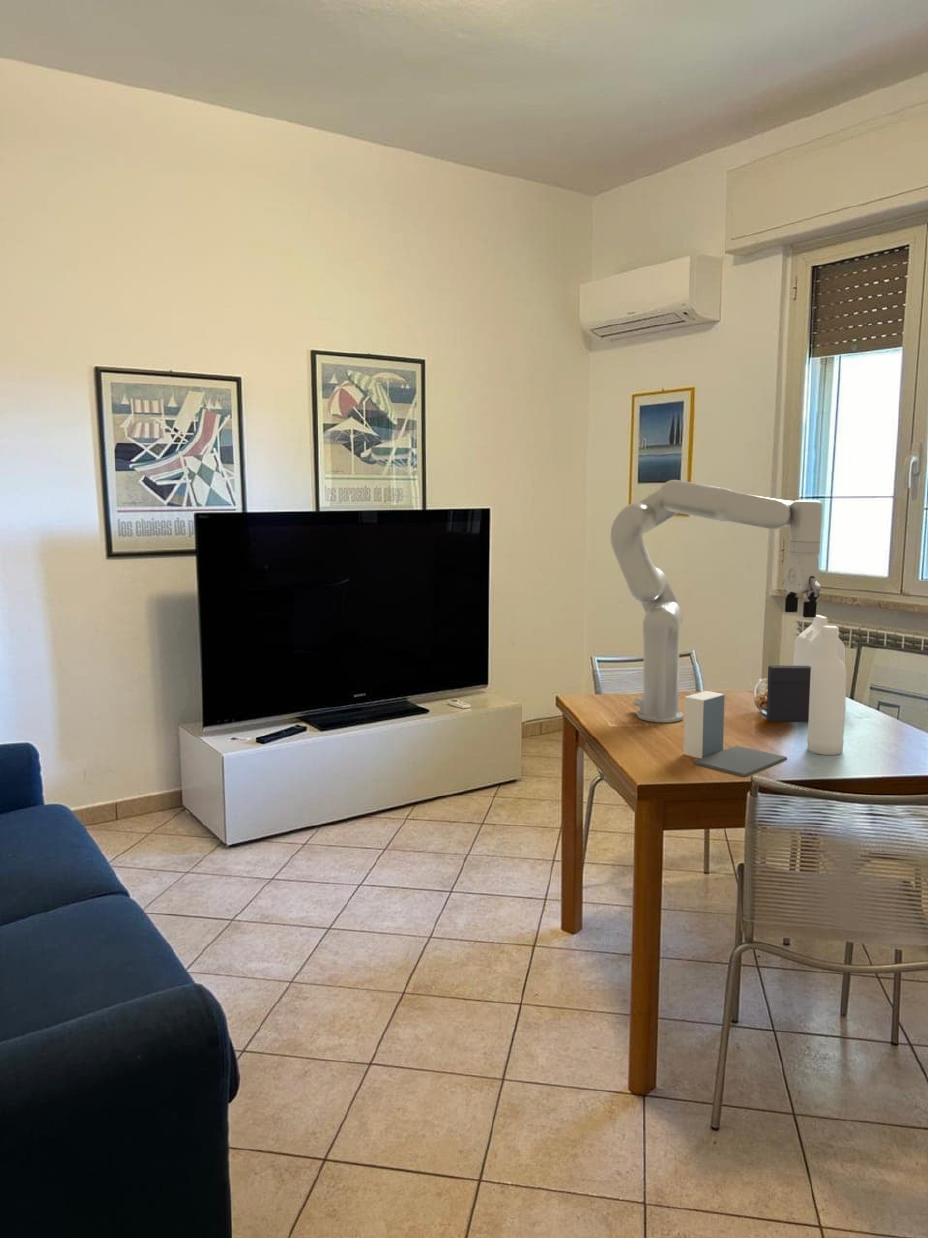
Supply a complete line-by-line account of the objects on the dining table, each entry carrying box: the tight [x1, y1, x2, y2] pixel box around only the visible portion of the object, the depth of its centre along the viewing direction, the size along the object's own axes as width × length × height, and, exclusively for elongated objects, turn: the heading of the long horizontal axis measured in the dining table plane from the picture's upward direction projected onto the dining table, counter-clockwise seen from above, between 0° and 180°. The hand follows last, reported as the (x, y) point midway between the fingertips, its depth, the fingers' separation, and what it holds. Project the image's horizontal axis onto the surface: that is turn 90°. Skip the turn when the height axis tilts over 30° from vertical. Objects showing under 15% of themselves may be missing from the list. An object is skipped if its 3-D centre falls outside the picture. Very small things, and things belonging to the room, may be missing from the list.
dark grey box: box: [766, 665, 811, 723], centre depth 231 cm, size 11×4×15 cm, turn 84°
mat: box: [693, 745, 788, 777], centre depth 197 cm, size 13×18×1 cm
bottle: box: [806, 625, 847, 756], centre depth 202 cm, size 8×8×30 cm
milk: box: [792, 614, 847, 710], centre depth 248 cm, size 12×12×26 cm
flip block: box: [683, 690, 726, 759], centre depth 203 cm, size 5×9×14 cm, turn 131°
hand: (799, 614), depth 221 cm, fingers open, 9 cm apart
